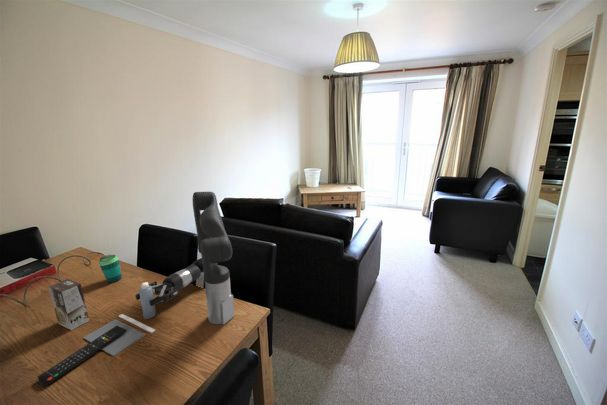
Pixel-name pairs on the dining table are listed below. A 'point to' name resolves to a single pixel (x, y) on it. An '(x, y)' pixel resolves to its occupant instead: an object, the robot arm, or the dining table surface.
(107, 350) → the mat
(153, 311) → the slim bottle
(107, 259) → the cup
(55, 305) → the coffee box
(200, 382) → the dining table surface
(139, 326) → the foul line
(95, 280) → the dining table surface
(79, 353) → the remote control
